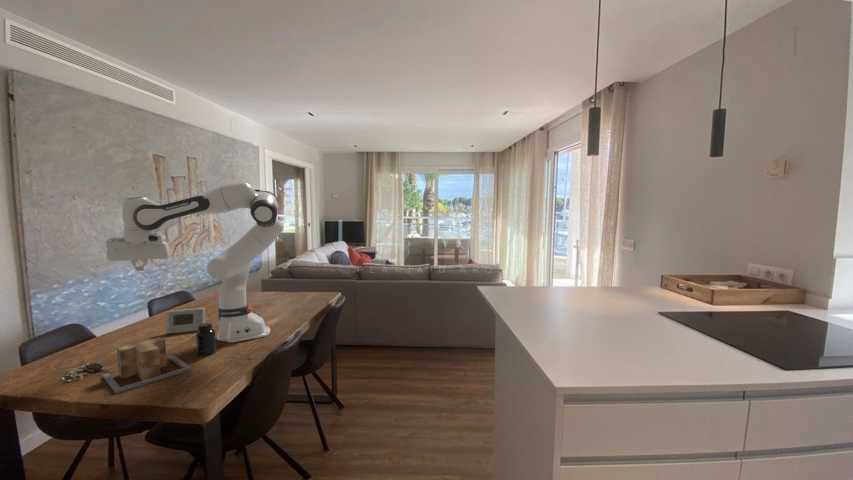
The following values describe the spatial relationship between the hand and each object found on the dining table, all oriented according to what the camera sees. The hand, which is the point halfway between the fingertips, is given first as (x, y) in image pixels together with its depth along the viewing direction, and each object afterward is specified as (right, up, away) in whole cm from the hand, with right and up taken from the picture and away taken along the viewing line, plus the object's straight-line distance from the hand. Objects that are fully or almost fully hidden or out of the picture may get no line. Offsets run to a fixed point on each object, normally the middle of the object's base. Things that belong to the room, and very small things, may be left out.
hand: (140, 270), depth 142 cm
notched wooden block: (+17, -35, -18) cm, 43 cm away
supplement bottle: (+27, -34, +1) cm, 44 cm away
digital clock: (0, -33, +28) cm, 43 cm away
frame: (+17, -35, -18) cm, 43 cm away
